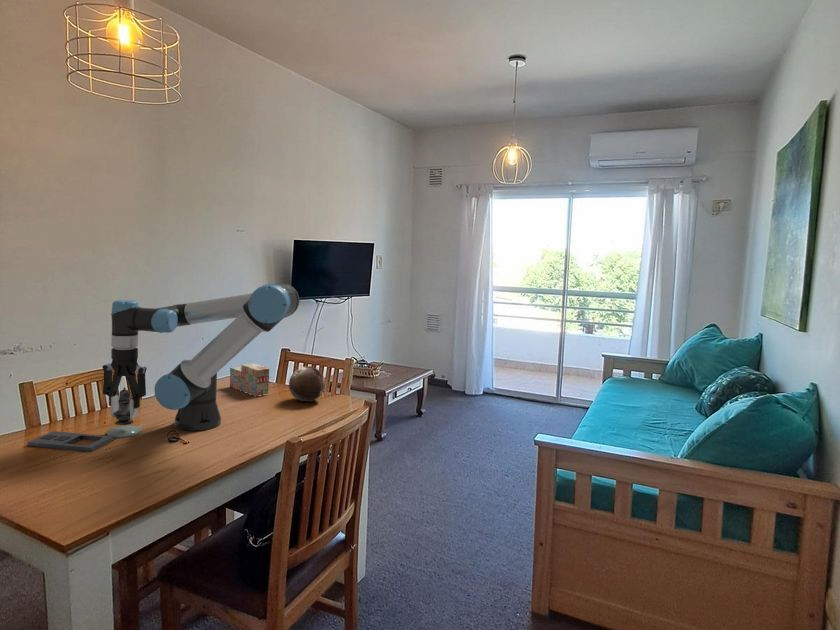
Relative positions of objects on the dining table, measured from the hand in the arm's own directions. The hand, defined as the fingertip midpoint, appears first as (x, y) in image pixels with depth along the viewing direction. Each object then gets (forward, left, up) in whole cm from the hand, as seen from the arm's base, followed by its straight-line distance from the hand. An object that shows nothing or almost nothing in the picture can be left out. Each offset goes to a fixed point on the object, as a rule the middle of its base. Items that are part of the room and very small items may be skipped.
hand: (124, 416), depth 169 cm
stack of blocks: (-18, -61, -6) cm, 64 cm away
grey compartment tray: (+9, +12, -5) cm, 16 cm away
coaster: (0, 0, -5) cm, 5 cm away
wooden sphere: (-46, -53, -6) cm, 70 cm away
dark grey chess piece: (0, 0, -2) cm, 2 cm away
